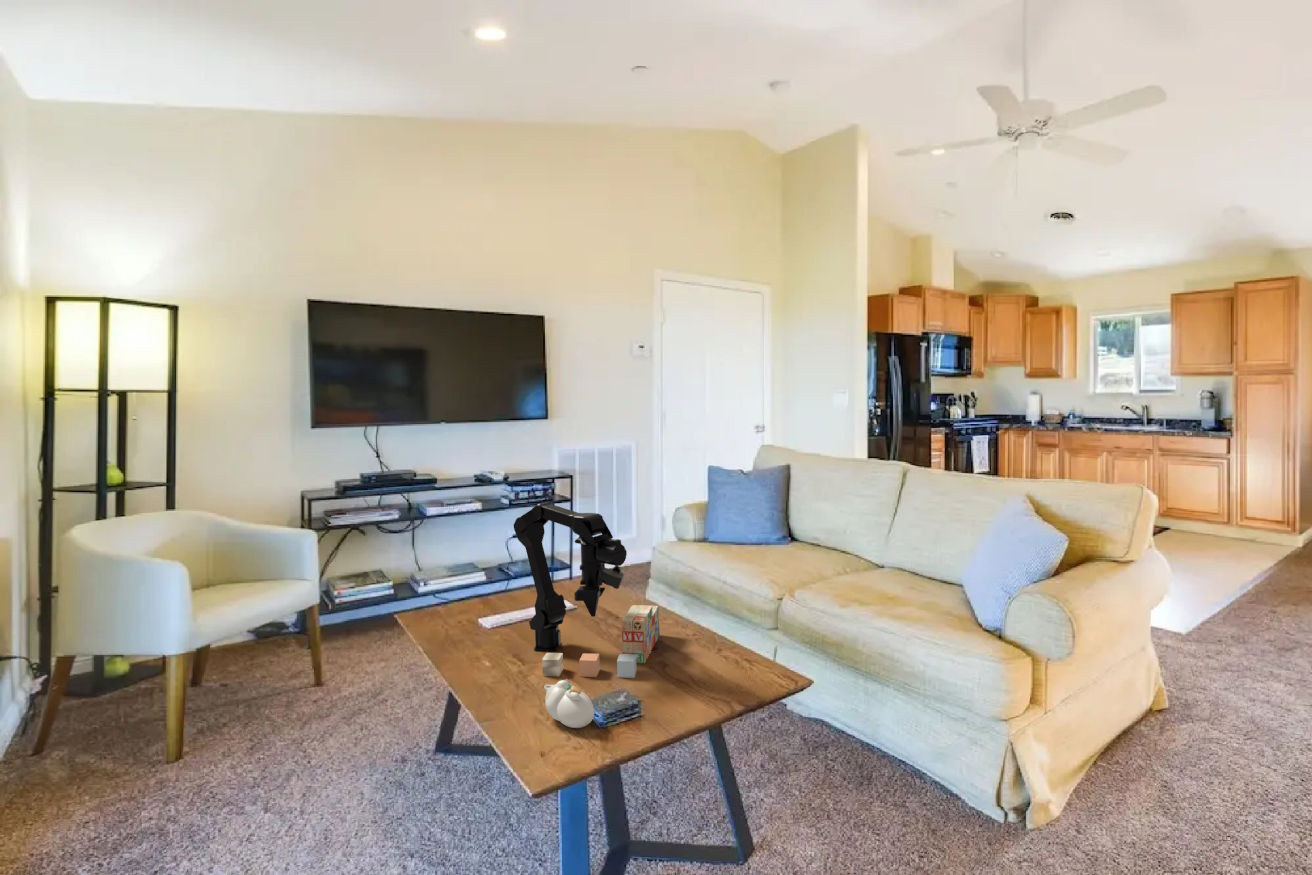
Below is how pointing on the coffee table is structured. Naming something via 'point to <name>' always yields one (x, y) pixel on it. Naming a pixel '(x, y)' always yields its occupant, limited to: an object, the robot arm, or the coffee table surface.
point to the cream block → (552, 664)
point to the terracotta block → (589, 665)
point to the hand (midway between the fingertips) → (593, 616)
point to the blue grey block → (626, 665)
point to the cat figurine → (568, 704)
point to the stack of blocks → (640, 631)
